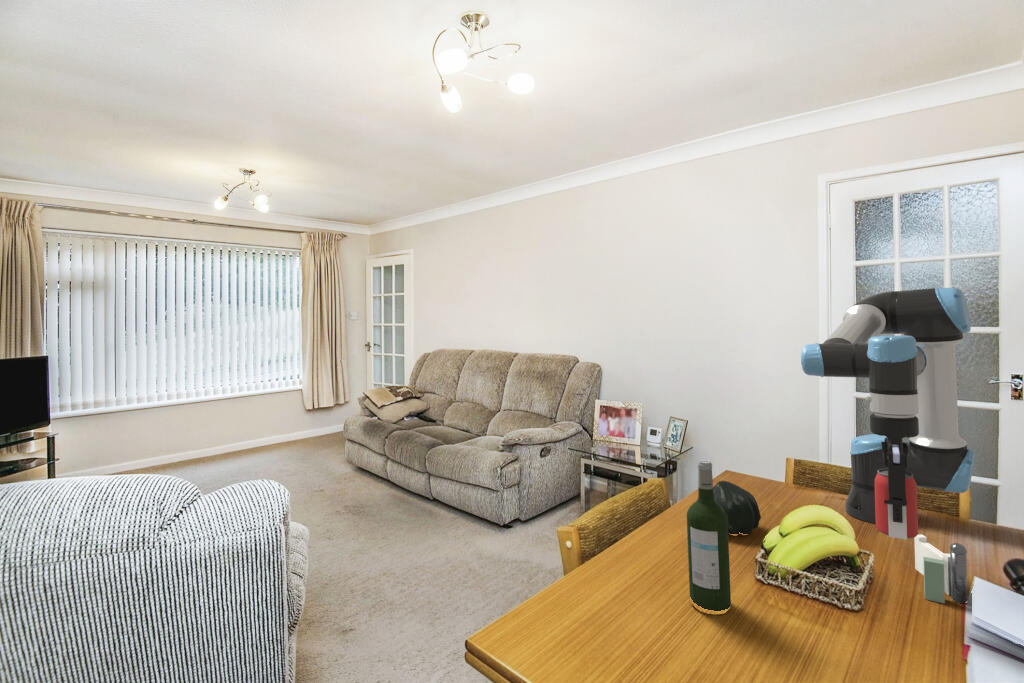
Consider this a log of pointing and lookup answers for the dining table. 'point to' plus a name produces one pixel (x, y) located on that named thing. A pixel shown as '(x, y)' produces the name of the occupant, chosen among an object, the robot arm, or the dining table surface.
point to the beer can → (882, 508)
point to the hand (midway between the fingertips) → (896, 530)
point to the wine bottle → (708, 546)
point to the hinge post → (958, 572)
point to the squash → (737, 507)
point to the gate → (931, 552)
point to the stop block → (934, 579)
